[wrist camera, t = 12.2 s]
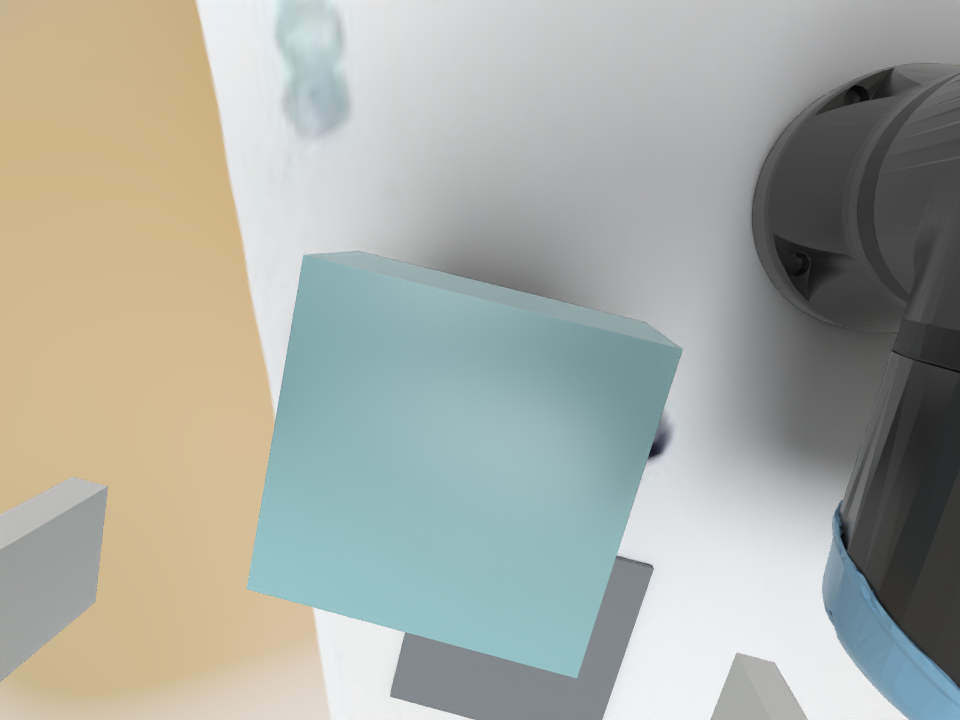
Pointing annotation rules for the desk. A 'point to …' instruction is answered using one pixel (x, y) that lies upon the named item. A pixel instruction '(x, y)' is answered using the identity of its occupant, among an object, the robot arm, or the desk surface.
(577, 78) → the desk surface
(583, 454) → the cover cap
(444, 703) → the rubber mat
